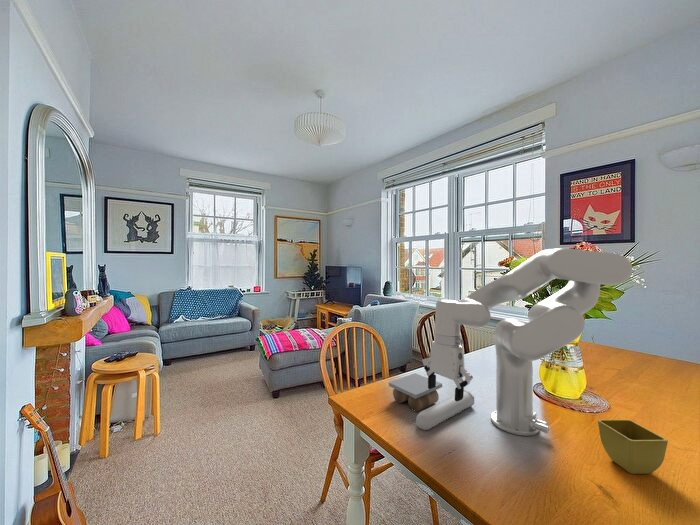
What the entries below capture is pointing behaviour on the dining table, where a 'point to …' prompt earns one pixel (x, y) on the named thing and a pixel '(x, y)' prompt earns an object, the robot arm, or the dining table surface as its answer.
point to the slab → (413, 385)
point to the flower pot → (632, 445)
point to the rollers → (416, 403)
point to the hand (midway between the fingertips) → (444, 393)
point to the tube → (443, 411)
